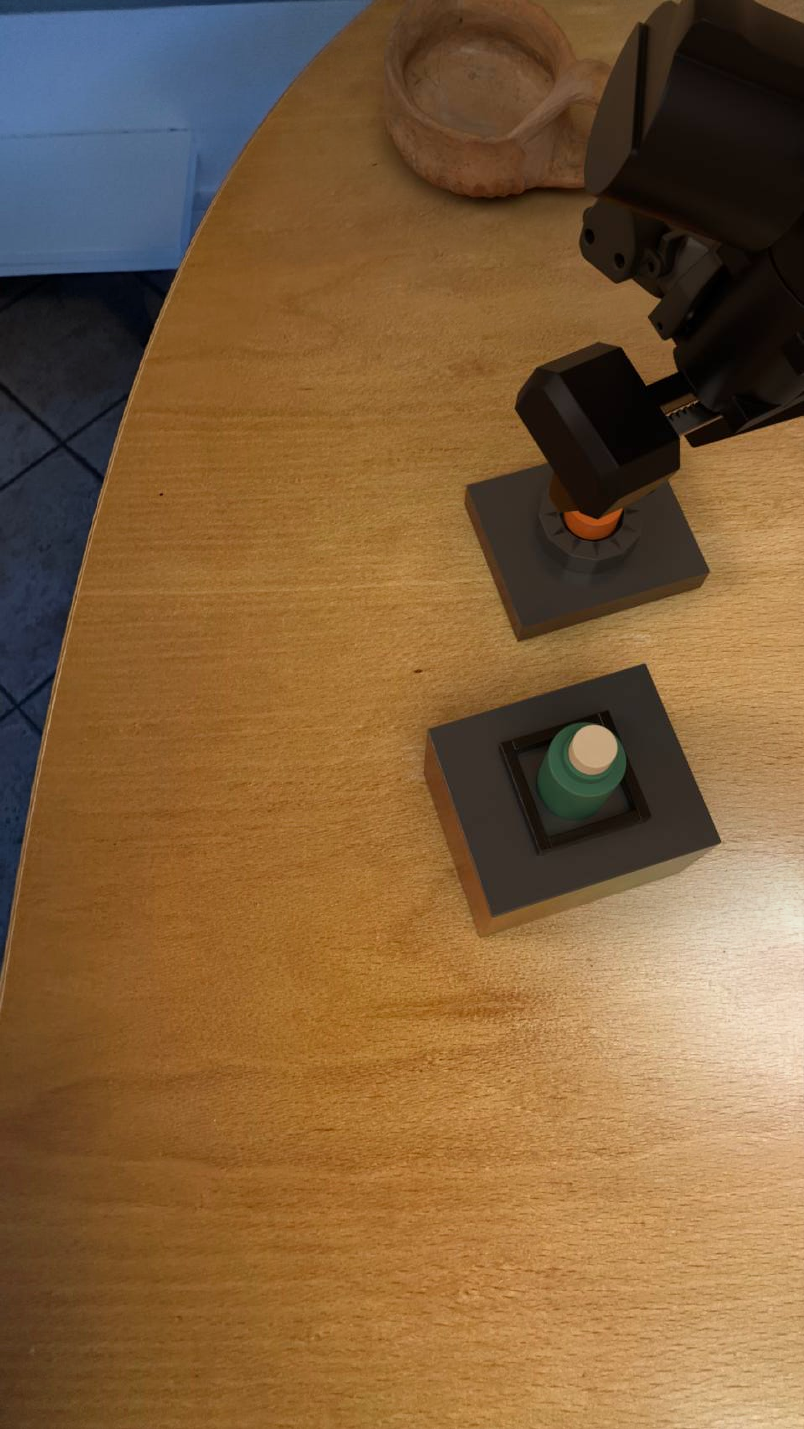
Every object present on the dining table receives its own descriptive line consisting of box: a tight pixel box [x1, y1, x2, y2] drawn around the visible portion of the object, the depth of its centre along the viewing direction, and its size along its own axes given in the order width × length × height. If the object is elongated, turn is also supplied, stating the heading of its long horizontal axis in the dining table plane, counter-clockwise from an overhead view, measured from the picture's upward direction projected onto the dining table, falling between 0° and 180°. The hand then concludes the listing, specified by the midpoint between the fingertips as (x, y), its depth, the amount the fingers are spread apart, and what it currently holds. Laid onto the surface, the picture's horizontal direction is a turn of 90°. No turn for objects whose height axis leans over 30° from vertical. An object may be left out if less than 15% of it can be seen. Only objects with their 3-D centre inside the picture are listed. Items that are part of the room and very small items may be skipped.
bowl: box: [381, 0, 614, 199], centre depth 72 cm, size 18×14×10 cm
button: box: [564, 508, 623, 540], centre depth 62 cm, size 3×3×2 cm
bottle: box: [536, 722, 626, 820], centre depth 50 cm, size 4×4×6 cm
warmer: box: [423, 662, 722, 939], centre depth 56 cm, size 12×10×9 cm
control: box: [464, 462, 711, 643], centre depth 64 cm, size 12×10×4 cm
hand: (624, 469), depth 53 cm, fingers open, 9 cm apart
